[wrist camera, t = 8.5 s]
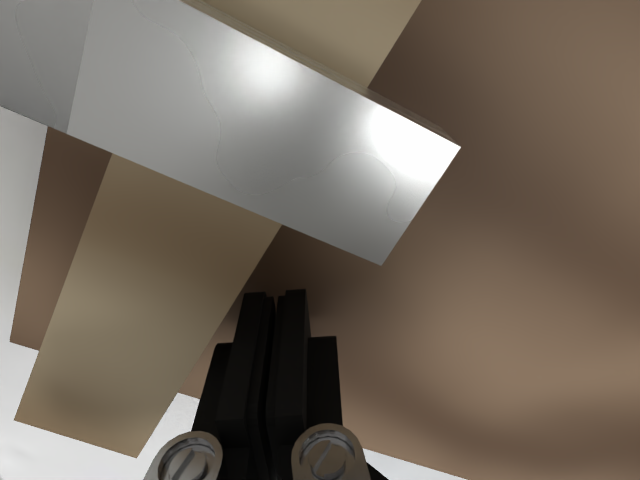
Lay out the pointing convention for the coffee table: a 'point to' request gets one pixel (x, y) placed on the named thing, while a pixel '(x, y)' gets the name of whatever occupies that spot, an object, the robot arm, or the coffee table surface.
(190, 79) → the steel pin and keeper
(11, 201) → the coffee table surface
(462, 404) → the walnut board
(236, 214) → the link
